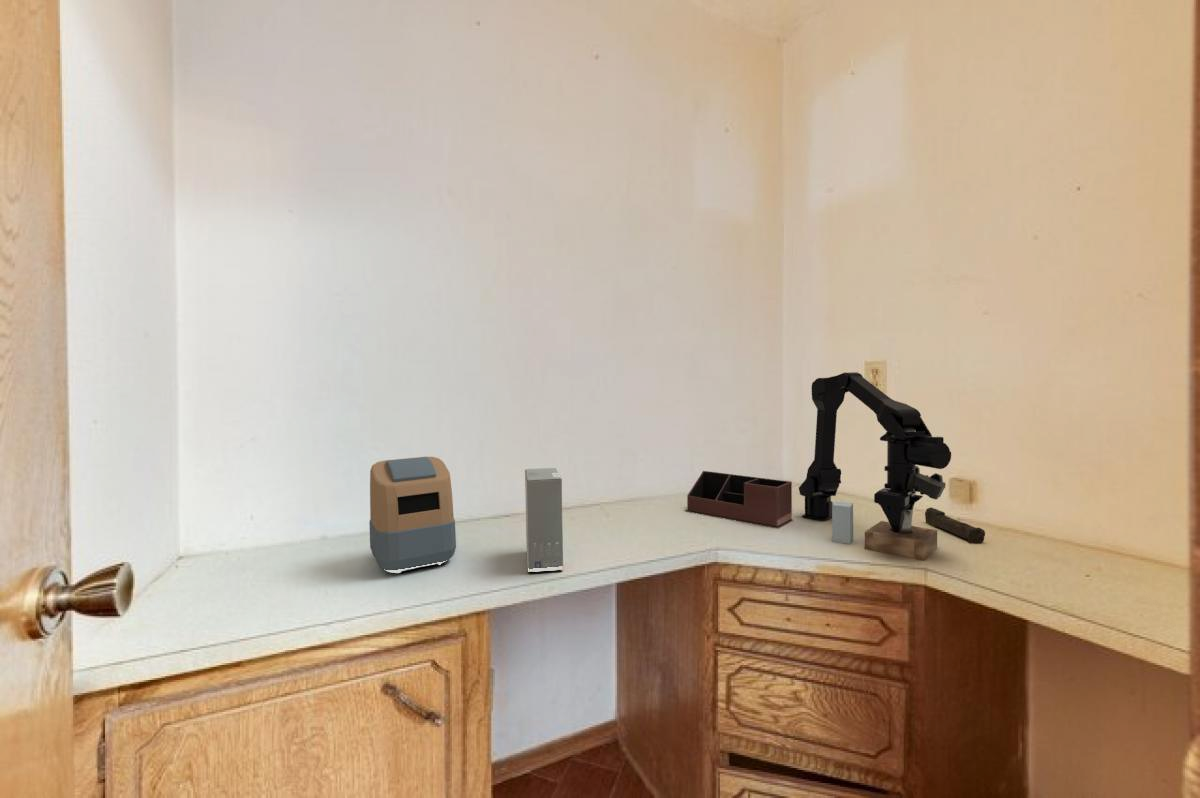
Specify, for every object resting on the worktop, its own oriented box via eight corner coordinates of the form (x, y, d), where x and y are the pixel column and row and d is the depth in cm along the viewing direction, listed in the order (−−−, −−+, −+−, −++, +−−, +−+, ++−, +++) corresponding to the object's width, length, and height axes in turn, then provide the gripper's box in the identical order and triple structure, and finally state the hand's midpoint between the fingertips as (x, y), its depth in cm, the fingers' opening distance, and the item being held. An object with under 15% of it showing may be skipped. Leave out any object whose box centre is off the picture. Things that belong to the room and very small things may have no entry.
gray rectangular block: (832, 541, 129) (832, 504, 128) (835, 537, 132) (835, 501, 132) (850, 544, 126) (850, 506, 126) (853, 539, 130) (853, 503, 129)
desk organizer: (778, 529, 140) (778, 487, 139) (684, 512, 160) (684, 475, 159) (794, 521, 148) (794, 481, 147) (703, 505, 167) (702, 470, 167)
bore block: (864, 548, 123) (864, 531, 123) (881, 536, 131) (881, 520, 131) (923, 560, 114) (923, 542, 114) (937, 547, 123) (937, 530, 123)
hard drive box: (564, 572, 112) (562, 478, 111) (527, 575, 110) (525, 480, 110) (557, 548, 127) (556, 466, 126) (525, 551, 126) (523, 468, 125)
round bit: (891, 546, 123) (895, 509, 122) (895, 543, 125) (899, 506, 124) (906, 550, 121) (910, 512, 120) (910, 547, 123) (914, 509, 122)
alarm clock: (381, 581, 108) (376, 469, 107) (368, 558, 123) (364, 459, 122) (461, 564, 117) (458, 461, 116) (440, 545, 131) (437, 452, 130)
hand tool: (986, 544, 125) (986, 525, 125) (969, 544, 125) (969, 525, 125) (936, 522, 144) (936, 505, 144) (921, 522, 144) (921, 506, 144)
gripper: (931, 471, 110) (930, 545, 110) (951, 460, 123) (950, 526, 124) (873, 466, 118) (873, 535, 118) (898, 455, 131) (898, 518, 132)
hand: (900, 528), depth 123 cm, fingers open, 7 cm apart
